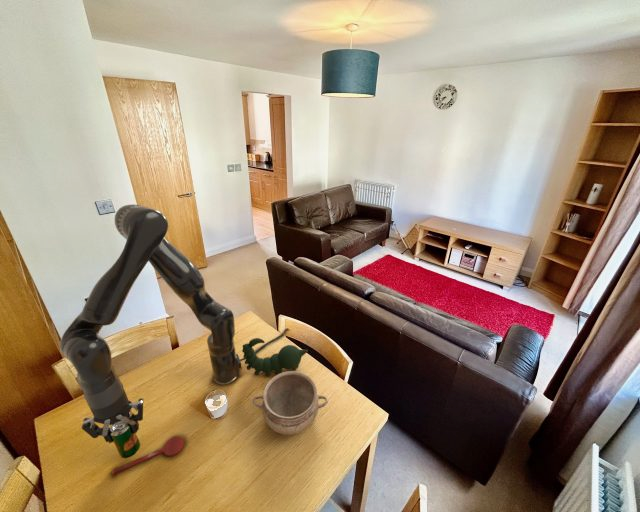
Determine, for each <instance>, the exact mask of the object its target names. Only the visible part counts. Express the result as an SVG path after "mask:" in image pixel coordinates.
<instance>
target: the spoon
mask: <svg viewBox="0 0 640 512" xmlns="http://www.w3.org/2000/svg"><path fill="white" fill-rule="evenodd" d="M184 445H185V440H184V439H183V437H182V436H180V435H179V436H178V435H175V436H173V437H171V438H169V439H168V440H166V442H165V443H164V446H163V447H161V448H158V449H156V450H155V451H152V452H150V453H148V454H145V455H143V456H141V457H138V458H136V459H135V460H132V461H130V462H128V463H124V464H123V465H121V466H118V467H116V468H114V469H113V470H112V471H111V475H112V476H116V475H118V474H120V473H122V472H124V471H126V470H127V471H128V470H129V469H131V468H133V467H136V466H138V465H140V464H142V463H144V462H146V461H149V460H152V459H153V458H155V457H158V456H160V455H162V454H164V455H165V457H168V458H171V457H172V458H173V457H175V456H177V455H178V454H180V453H181V451H182V450H183V448H184Z"/></svg>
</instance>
